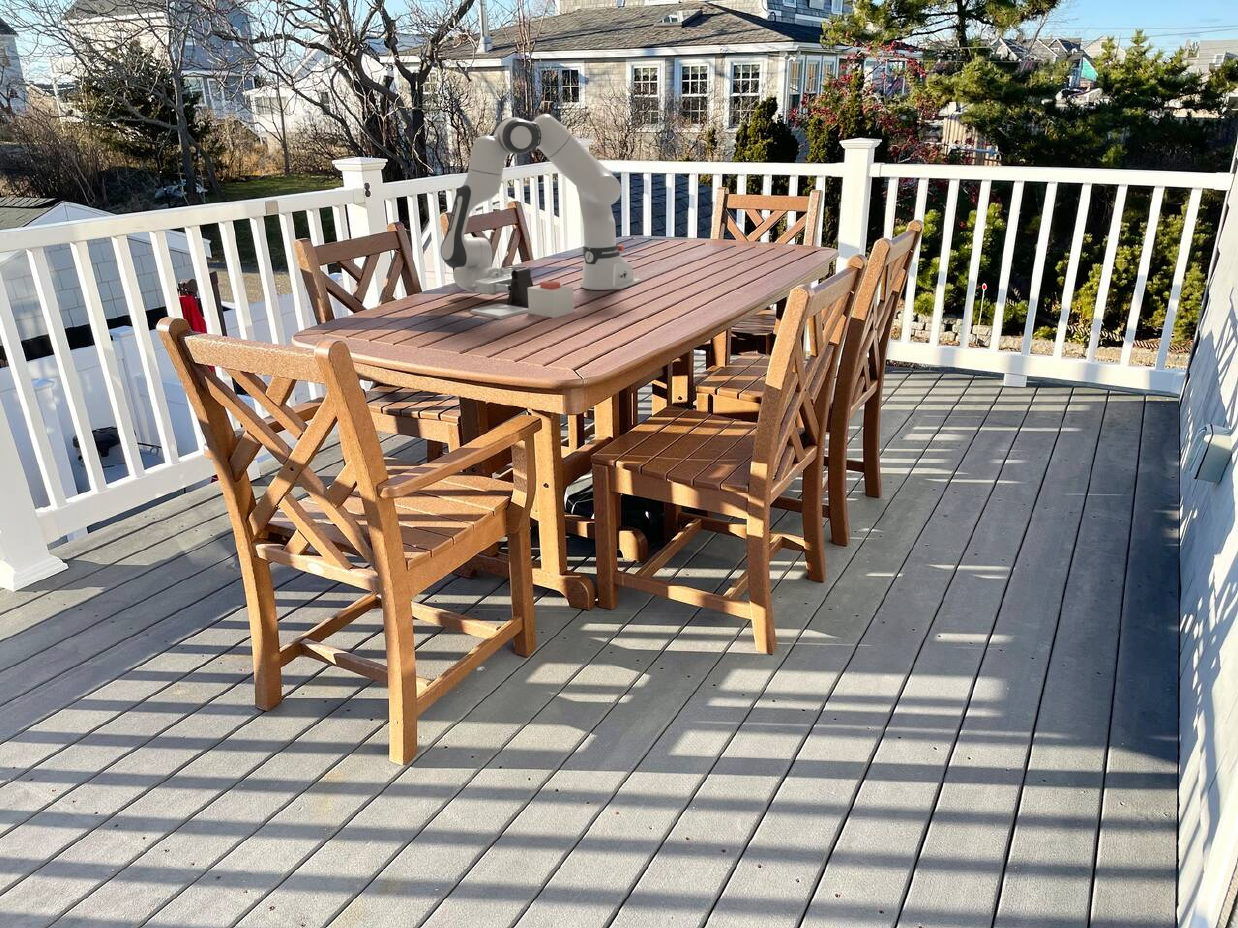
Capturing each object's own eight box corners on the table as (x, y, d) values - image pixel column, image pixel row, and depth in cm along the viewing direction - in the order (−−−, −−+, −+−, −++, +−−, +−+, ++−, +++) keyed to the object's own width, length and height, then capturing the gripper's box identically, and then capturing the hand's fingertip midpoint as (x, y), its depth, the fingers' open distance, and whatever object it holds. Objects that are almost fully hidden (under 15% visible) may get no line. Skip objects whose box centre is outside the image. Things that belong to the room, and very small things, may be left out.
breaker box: (549, 308, 287) (548, 283, 284) (574, 312, 280) (573, 287, 277) (529, 313, 281) (527, 287, 278) (553, 318, 274) (552, 292, 271)
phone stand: (506, 306, 291) (503, 269, 287) (518, 302, 296) (516, 266, 291) (527, 309, 287) (525, 271, 282) (539, 305, 291) (537, 268, 286)
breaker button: (548, 290, 281) (548, 280, 280) (560, 292, 278) (559, 282, 277) (540, 292, 278) (540, 282, 277) (552, 294, 275) (551, 284, 274)
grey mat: (499, 306, 291) (499, 303, 291) (529, 311, 283) (528, 308, 282) (470, 313, 283) (470, 310, 283) (500, 319, 275) (500, 315, 274)
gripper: (466, 276, 290) (494, 281, 281) (512, 267, 304) (541, 271, 295) (467, 296, 292) (496, 301, 284) (514, 285, 306) (542, 290, 298)
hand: (519, 285), depth 290 cm, fingers open, 8 cm apart
